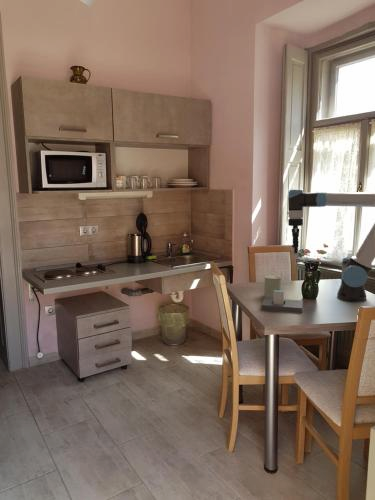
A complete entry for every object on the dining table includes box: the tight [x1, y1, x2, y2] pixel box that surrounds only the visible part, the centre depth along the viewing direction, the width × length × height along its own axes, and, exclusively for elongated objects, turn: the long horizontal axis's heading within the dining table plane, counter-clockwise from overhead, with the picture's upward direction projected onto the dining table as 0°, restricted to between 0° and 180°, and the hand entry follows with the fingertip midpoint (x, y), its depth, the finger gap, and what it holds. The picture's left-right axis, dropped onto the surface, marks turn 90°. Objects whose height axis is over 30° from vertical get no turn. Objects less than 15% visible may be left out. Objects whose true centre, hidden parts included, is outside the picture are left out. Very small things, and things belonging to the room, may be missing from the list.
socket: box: [260, 297, 304, 314], centre depth 207 cm, size 20×14×2 cm
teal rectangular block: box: [273, 289, 285, 305], centre depth 207 cm, size 5×4×8 cm
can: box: [263, 274, 282, 298], centre depth 227 cm, size 9×9×12 cm
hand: (295, 257), depth 217 cm, fingers open, 13 cm apart
